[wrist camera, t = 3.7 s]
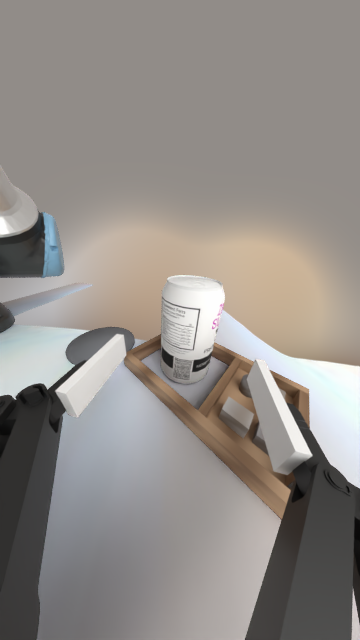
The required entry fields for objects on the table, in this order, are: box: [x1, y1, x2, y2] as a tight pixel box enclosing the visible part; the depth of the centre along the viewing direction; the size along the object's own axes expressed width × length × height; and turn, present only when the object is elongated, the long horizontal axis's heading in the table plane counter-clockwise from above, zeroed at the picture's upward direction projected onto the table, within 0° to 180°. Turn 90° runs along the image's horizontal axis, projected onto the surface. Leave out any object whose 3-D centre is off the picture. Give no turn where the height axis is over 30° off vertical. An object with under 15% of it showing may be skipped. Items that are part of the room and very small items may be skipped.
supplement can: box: [161, 275, 225, 384], centre depth 21 cm, size 8×8×15 cm
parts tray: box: [124, 334, 310, 519], centre depth 21 cm, size 24×14×3 cm, turn 50°
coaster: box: [66, 327, 134, 365], centre depth 28 cm, size 12×12×1 cm
